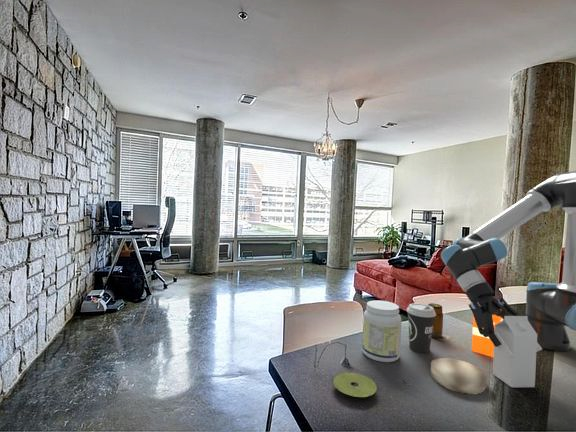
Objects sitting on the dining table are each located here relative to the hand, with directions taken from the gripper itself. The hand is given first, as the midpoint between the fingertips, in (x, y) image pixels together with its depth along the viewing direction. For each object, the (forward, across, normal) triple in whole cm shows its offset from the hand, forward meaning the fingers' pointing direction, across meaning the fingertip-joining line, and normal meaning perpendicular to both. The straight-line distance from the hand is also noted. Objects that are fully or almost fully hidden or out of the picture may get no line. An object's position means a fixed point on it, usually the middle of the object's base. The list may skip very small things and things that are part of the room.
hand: (524, 354), depth 86 cm
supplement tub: (-13, +27, -26) cm, 40 cm away
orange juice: (-7, -12, -20) cm, 24 cm away
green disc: (-3, +47, -16) cm, 50 cm away
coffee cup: (-13, +11, -26) cm, 31 cm away
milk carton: (+5, 0, -8) cm, 10 cm away
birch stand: (0, +16, -12) cm, 20 cm away
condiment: (-18, -5, -31) cm, 36 cm away
